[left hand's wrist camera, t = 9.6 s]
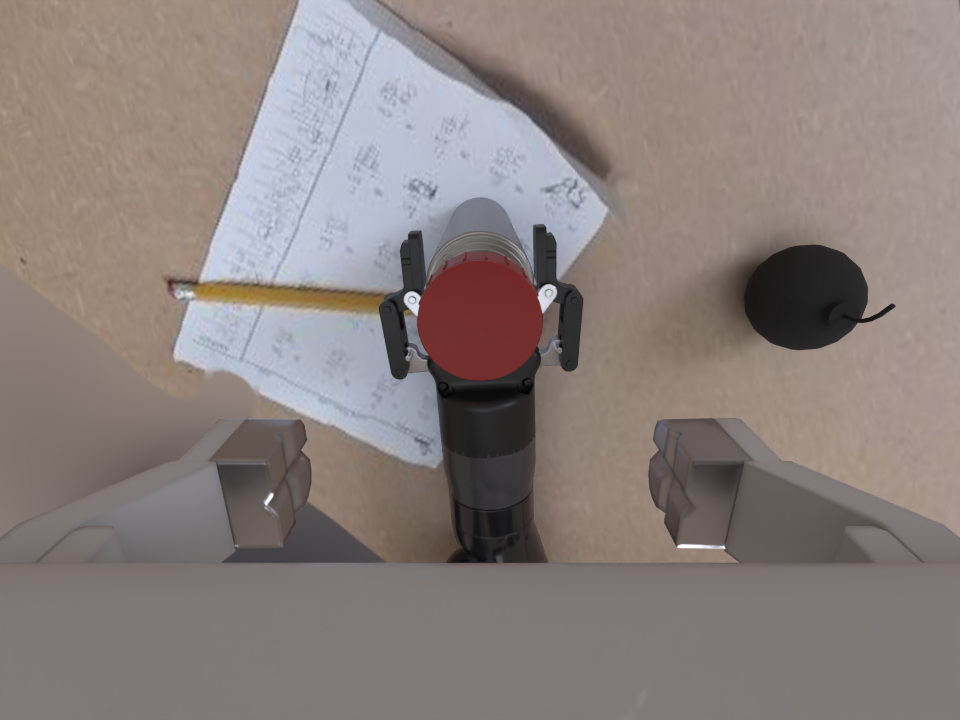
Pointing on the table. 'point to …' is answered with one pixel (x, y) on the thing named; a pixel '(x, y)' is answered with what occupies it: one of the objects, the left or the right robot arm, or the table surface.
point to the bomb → (807, 297)
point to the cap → (480, 316)
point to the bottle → (480, 235)
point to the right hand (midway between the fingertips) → (476, 228)
